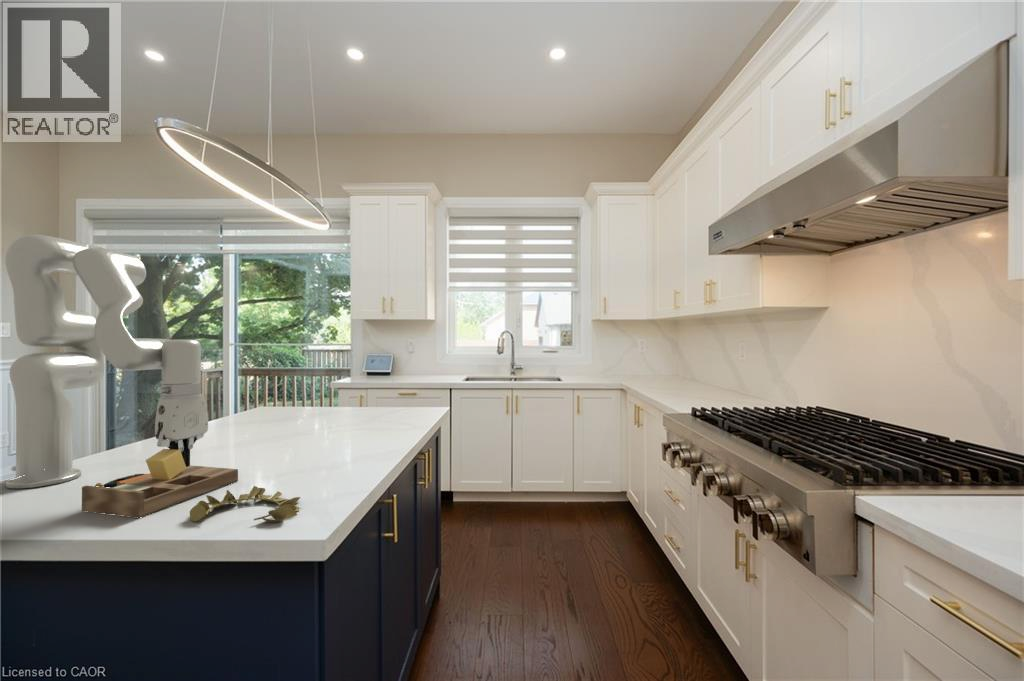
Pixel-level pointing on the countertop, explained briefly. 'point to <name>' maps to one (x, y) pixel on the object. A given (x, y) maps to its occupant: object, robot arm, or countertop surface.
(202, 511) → the headpiece
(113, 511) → the wooden tray
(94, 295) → the robot arm
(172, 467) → the block
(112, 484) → the toy gun
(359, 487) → the countertop surface
